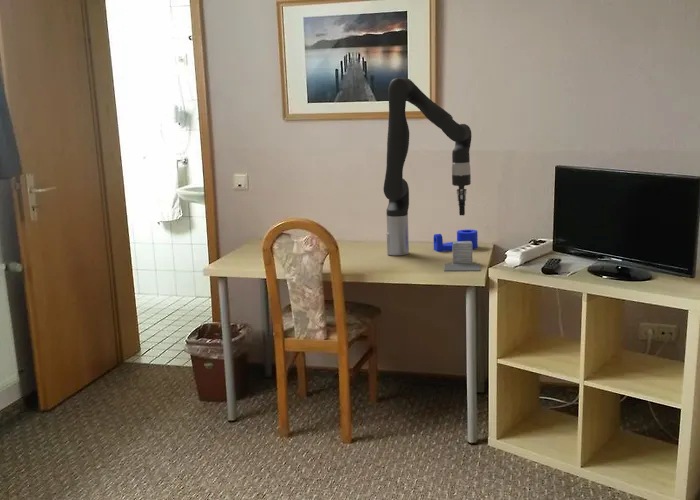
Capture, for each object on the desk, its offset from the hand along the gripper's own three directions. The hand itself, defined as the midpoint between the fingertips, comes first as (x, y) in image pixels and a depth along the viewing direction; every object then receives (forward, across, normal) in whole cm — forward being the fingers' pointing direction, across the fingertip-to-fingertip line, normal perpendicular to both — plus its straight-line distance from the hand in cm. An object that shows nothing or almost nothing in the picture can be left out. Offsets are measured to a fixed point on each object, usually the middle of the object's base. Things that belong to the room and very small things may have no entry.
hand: (462, 215), depth 297 cm
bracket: (+19, -19, -3) cm, 27 cm away
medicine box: (+19, +9, 0) cm, 21 cm away
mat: (+18, +18, 0) cm, 25 cm away
